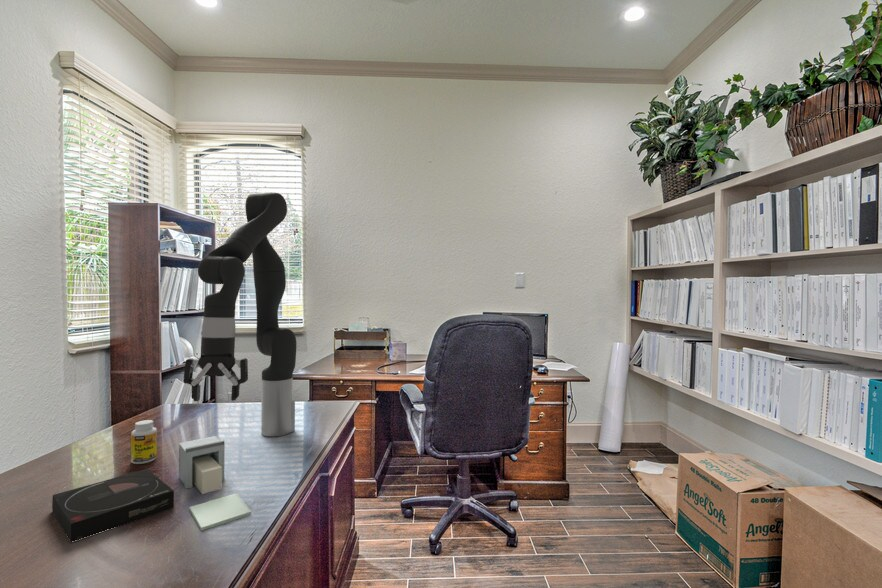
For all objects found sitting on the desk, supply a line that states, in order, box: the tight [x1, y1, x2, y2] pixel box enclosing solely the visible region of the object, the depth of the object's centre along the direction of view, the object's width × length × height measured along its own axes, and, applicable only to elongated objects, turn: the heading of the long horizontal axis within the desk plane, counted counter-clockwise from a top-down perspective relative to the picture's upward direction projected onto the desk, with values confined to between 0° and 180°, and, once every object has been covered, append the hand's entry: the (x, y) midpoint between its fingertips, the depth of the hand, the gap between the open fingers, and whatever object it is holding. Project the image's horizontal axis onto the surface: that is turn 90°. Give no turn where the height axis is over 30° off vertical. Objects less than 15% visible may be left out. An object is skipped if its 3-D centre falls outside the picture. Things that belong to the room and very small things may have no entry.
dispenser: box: [178, 435, 226, 489], centre depth 103 cm, size 8×8×9 cm
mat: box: [189, 493, 252, 532], centre depth 87 cm, size 9×10×1 cm
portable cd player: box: [51, 468, 175, 543], centre depth 88 cm, size 16×17×4 cm
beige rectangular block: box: [192, 455, 223, 495], centre depth 100 cm, size 4×10×5 cm, turn 44°
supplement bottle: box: [130, 419, 158, 465], centre depth 112 cm, size 6×6×10 cm
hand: (215, 400), depth 107 cm, fingers open, 8 cm apart
